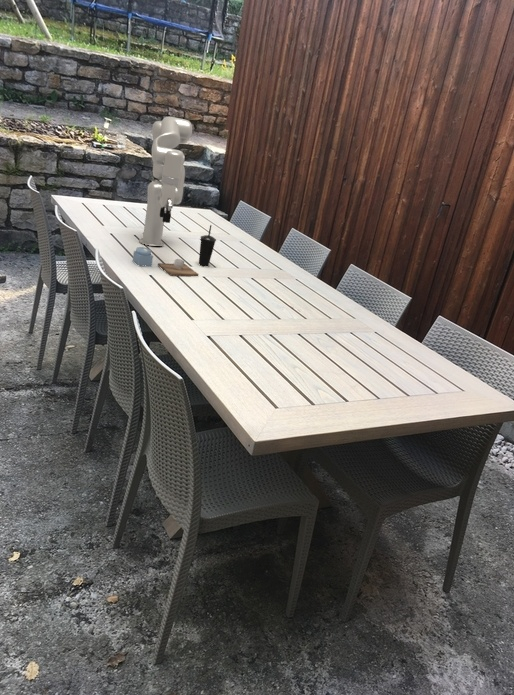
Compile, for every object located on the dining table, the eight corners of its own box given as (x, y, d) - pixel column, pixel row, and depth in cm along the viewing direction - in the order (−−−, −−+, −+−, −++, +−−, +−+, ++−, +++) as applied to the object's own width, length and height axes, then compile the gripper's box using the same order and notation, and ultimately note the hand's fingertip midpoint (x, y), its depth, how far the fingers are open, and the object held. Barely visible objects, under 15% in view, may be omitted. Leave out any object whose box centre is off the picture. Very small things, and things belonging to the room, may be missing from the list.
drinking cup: (212, 264, 291) (219, 225, 283) (209, 268, 284) (217, 228, 276) (197, 261, 291) (204, 222, 283) (194, 265, 284) (201, 224, 276)
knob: (132, 261, 268) (134, 245, 265) (145, 261, 272) (148, 246, 269) (137, 266, 263) (140, 250, 260) (151, 266, 267) (154, 251, 264)
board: (157, 265, 270) (158, 263, 270) (184, 266, 278) (185, 264, 278) (170, 276, 260) (170, 273, 259) (198, 276, 268) (198, 274, 267)
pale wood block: (173, 268, 267) (174, 260, 266) (176, 266, 270) (177, 258, 269) (180, 270, 267) (181, 262, 265) (182, 268, 270) (184, 260, 268)
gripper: (159, 176, 259) (153, 214, 266) (164, 183, 244) (158, 223, 251) (175, 179, 262) (170, 216, 268) (182, 186, 247) (175, 225, 253)
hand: (164, 219), depth 259 cm, fingers open, 9 cm apart
